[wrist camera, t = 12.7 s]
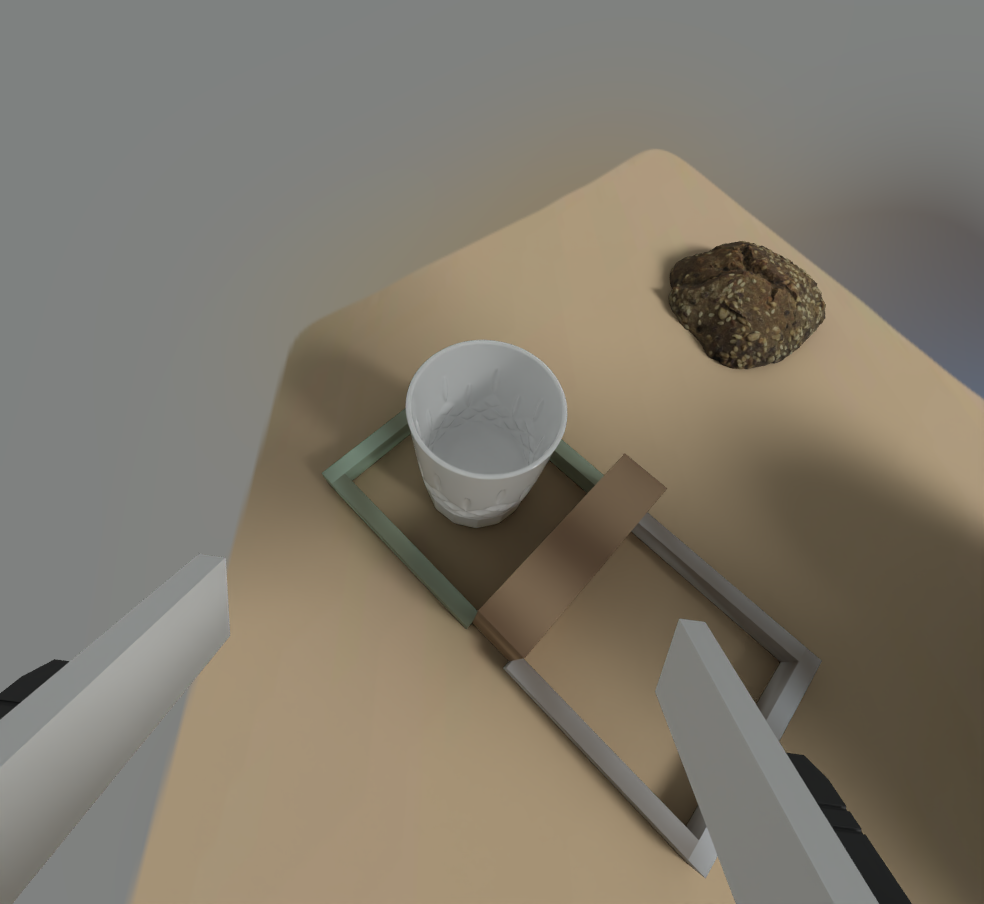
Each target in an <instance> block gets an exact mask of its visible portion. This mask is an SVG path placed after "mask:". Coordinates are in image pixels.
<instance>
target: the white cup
mask: <svg viewBox="0 0 984 904" xmlns="http://www.w3.org/2000/svg"><path fill="white" fill-rule="evenodd" d="M406 416H407V421H408V425H409V429H410V433H411V437H412V441H413V445H414V449H415V453H416V457H417V461H418V465H419V468H420V471H421V474H422V477H423V480H424V483H425V486H426V489H427V491H428V493H429V495H430V497H431V500H432V502H433V504H434V506H435V508H436V509H437V510H438V511H439V512H440V513H442V514H443V515H444V516H445V517H447V518H448V519H449V520H451V521H452V522H453V523H456V524H460V525H465V526H469V527H473V528H480V527H484V526H489V525H494V524H498V523H500V522H501V521H503V520H504V519H505V518H506V517H508V516H509V515H510V514H511V513H513V512H514V511H515V510H516V509H517V508H518V506H519V504H520V502H521V501H522V500H523V499H524V498H525V496H526V495H527V494H528V492H529V491H530V489H531V488H532V486H533V485H534V484H535V482H536V481H537V479H538V478H539V476H540V474H541V473H542V471H543V469H544V468H545V466H546V464H547V462H548V461H549V459H550V457H551V456H552V454H553V452H554V451H555V449H556V448H557V446H558V444H559V443H560V441H561V439H562V436H563V434H564V431H565V428H566V423H567V403H566V398H565V395H564V392H563V389H562V387H561V385H560V383H559V381H558V379H557V378H556V376H555V375H554V374H553V372H552V371H551V370H550V369H549V368H548V366H547V365H545V364H544V363H543V362H542V361H541V360H540V359H539V358H537V357H536V356H534V355H533V354H531V353H530V352H528V351H526V350H524V349H522V348H520V347H517V346H515V345H512V344H508V343H505V342H500V341H493V340H472V341H466V342H461V343H457V344H454V345H451V346H449V347H446V348H444V349H442V350H440V351H439V352H437V353H436V354H434V355H433V356H431V357H430V358H429V359H428V360H426V361H425V362H424V363H423V364H422V366H421V367H420V368H419V369H418V371H417V372H416V373H415V375H414V377H413V379H412V381H411V383H410V385H409V388H408V392H407V397H406Z"/></svg>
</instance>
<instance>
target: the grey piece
mask: <svg viewBox="0 0 984 904" xmlns="http://www.w3.org/2000/svg"><path fill="white" fill-rule="evenodd" d="M410 434H411V433H410V429H409V425H408V421H407V416H406V408H405V409H404V410H403V411H401V412H400V413H399V414H397V415H396V416H395V417H394V418H392V419H391V420H390V421H388V422H387V423H386V424H384V425H383V426H382V427H381V428H379V429H378V430H377V431H375V432H374V433H373V434H372V435H370V436H369V437H368V438H366V439H365V440H364V441H363V442H361V443H360V444H359V445H357V446H356V447H355V448H353V449H352V450H351V451H350V452H348V453H347V454H346V455H344V456H343V457H342V458H341V459H339V460H338V461H337V462H335V463H334V464H333V465H332V466H330V467H329V468H328V469H326V470H325V471H324V472H322V474H323V476H324V478H325V479H326V481H327V482H328V483H329V485H330V486H331V487H332V488H333V489H334V490H335V491H336V492H337V493H338V494H339V495H340V496H341V497H342V498H343V499H344V500H345V501H346V503H347V504H348V505H349V506H350V507H351V508H352V509H353V510H354V511H355V512H356V513H357V514H358V515H359V516H360V517H361V518H362V519H363V520H364V522H365V523H366V524H367V525H368V526H369V527H370V528H371V529H372V530H373V531H374V532H375V533H376V534H377V535H378V536H379V537H380V538H381V540H382V541H383V542H384V543H385V544H386V545H387V546H388V547H389V548H390V549H391V550H392V551H393V552H394V553H395V554H396V555H397V556H398V558H399V559H400V560H401V561H402V562H403V563H404V564H405V565H406V566H407V567H408V568H409V569H410V570H411V571H412V572H413V573H414V574H415V576H416V577H417V578H418V579H419V580H420V581H421V582H422V583H423V584H424V585H425V586H426V587H427V588H428V589H429V590H430V591H431V592H432V594H433V595H434V596H435V597H436V598H437V599H438V600H439V601H440V602H441V603H442V604H443V605H444V606H445V607H446V608H447V609H448V610H449V612H450V613H451V614H452V615H453V616H454V617H455V618H456V619H457V620H458V621H459V622H460V623H461V624H462V625H463V626H464V627H465V628H466V629H467V628H468V627H469V626H470V625H471V624H472V623H473V624H474V625H475V626H476V627H477V628H478V629H479V630H480V631H481V633H482V634H483V635H484V636H485V637H486V638H487V639H488V640H489V641H490V642H491V643H492V644H493V645H494V646H495V647H496V648H497V649H498V650H499V651H500V652H501V653H502V655H503V656H504V657H505V658H506V659H507V660H508V661H509V662H508V663H507V664H506V665H505V666H504V668H503V669H504V670H505V671H506V672H507V673H508V674H509V675H510V676H511V677H512V678H513V679H514V680H515V681H516V682H517V683H518V685H519V686H520V687H521V688H522V689H523V690H524V691H525V692H526V693H527V694H528V695H529V696H530V697H531V698H532V699H533V700H534V701H535V703H536V704H537V705H538V706H539V707H540V708H541V709H542V710H543V711H544V712H545V713H546V714H547V715H548V716H549V717H550V718H551V719H552V720H553V722H554V723H555V724H556V725H557V726H558V727H559V728H560V729H561V730H562V731H563V732H564V733H565V734H566V735H567V736H568V737H569V738H570V740H571V741H572V742H573V743H574V744H575V745H576V746H577V747H578V748H579V749H580V750H581V751H582V752H583V753H584V754H585V755H586V756H587V758H588V759H589V760H590V761H591V762H592V763H593V764H594V765H595V766H596V767H597V768H598V769H599V770H600V771H601V772H602V773H603V774H604V776H605V777H606V778H607V779H608V780H609V781H610V782H611V783H612V784H613V785H614V786H615V787H616V788H617V789H618V790H619V791H620V792H621V794H622V795H623V796H624V797H625V798H626V799H627V800H628V801H629V802H630V803H631V804H632V805H633V806H634V807H635V808H636V809H637V810H638V812H639V813H640V814H641V815H642V816H643V817H644V818H645V819H646V820H647V821H648V822H649V823H650V824H651V825H652V826H653V827H654V828H655V829H656V831H657V832H658V833H659V834H660V835H661V836H662V837H663V838H664V839H665V840H666V841H667V842H668V843H669V844H670V845H671V846H672V847H673V849H674V850H675V851H676V852H677V853H678V854H679V855H680V856H681V857H682V858H683V859H684V860H685V861H686V862H687V863H688V864H689V865H690V866H691V867H692V868H693V869H695V870H696V871H697V872H698V873H700V874H701V875H702V876H703V877H705V878H706V877H707V875H708V873H709V871H710V869H711V867H712V865H713V864H714V862H715V860H716V858H717V856H718V855H717V853H716V850H715V847H714V845H713V842H712V839H711V837H710V834H709V832H708V829H707V826H706V824H705V821H704V818H703V816H702V813H701V811H700V808H699V805H698V807H697V808H696V810H695V812H694V814H693V815H692V817H691V819H690V821H689V822H688V824H687V826H685V825H684V824H683V823H682V822H681V821H680V820H679V819H678V818H677V817H676V816H675V815H674V814H673V813H672V812H671V811H670V810H669V809H668V808H667V807H666V806H665V805H664V804H663V803H662V801H661V800H660V799H659V798H658V797H657V796H656V795H655V794H654V793H653V792H652V791H651V790H650V789H649V788H648V787H647V786H646V785H645V784H644V783H643V782H642V781H641V780H640V779H639V778H638V777H637V776H636V775H635V774H634V773H633V771H632V770H631V769H630V768H629V767H628V766H627V765H626V764H625V763H624V762H623V761H622V760H621V759H620V758H619V757H618V756H617V755H616V754H615V753H614V752H613V751H612V750H611V749H610V748H609V747H608V746H607V745H606V744H605V742H604V741H603V740H602V739H601V738H600V737H599V736H598V735H597V734H596V733H595V732H594V731H593V730H592V729H591V728H590V727H589V726H588V725H587V724H586V723H585V722H584V721H583V720H582V719H581V718H580V717H579V716H578V715H577V713H576V712H575V711H574V710H573V709H572V708H571V707H570V706H569V705H568V704H567V703H566V702H565V701H564V700H563V699H562V698H561V697H560V696H559V695H558V694H557V693H556V692H555V691H554V690H553V689H552V688H551V687H550V686H549V684H548V683H547V682H546V681H545V680H544V679H543V678H542V677H541V676H540V675H539V674H538V673H537V672H536V671H535V670H534V669H533V668H532V667H531V666H530V665H529V664H528V663H527V662H526V661H525V660H524V658H525V657H526V656H527V655H528V654H529V652H530V651H531V650H532V649H533V648H534V646H535V645H536V644H537V643H538V642H539V641H540V639H541V638H542V637H543V636H544V635H545V633H546V632H547V631H548V630H549V629H550V627H551V626H552V625H553V624H554V623H555V621H556V620H557V619H558V618H559V617H560V616H561V614H562V613H563V612H564V611H565V610H566V608H567V607H568V606H569V605H570V604H571V602H572V601H573V600H574V599H575V598H576V596H577V595H578V594H579V593H580V592H581V591H582V589H583V588H584V587H585V586H586V585H587V583H588V582H589V581H590V580H591V579H592V577H593V576H594V575H595V574H596V573H597V571H598V570H599V569H600V568H601V567H602V566H603V564H604V563H605V562H606V561H607V560H608V558H609V557H610V556H611V555H612V554H613V552H614V551H615V550H616V549H617V548H618V546H619V545H620V544H621V543H622V542H623V541H624V539H625V538H626V537H627V536H628V535H629V533H630V532H633V533H634V534H635V535H636V536H637V537H638V538H639V539H641V540H642V541H643V542H644V543H645V544H646V545H647V546H649V547H650V548H651V549H652V550H653V551H654V552H655V553H657V554H658V555H659V556H660V557H661V558H662V559H663V560H665V561H666V562H667V563H668V564H669V565H670V566H671V567H673V568H674V569H675V570H676V571H677V572H678V573H679V574H681V575H682V576H683V577H684V578H685V579H686V580H687V581H689V582H690V583H691V584H692V585H693V586H694V587H695V588H697V589H698V590H699V591H700V592H701V593H702V594H703V595H705V596H706V597H707V598H708V599H709V600H710V601H712V602H713V603H714V604H715V605H716V606H717V607H718V608H720V609H721V610H722V611H723V612H724V613H725V614H726V615H728V616H729V617H730V618H731V619H732V620H733V621H734V622H736V623H737V624H738V625H739V626H740V627H741V628H742V629H744V630H745V631H746V632H747V633H748V634H749V635H750V636H752V637H753V638H754V639H755V640H756V641H757V642H758V643H760V644H761V645H762V646H763V647H764V648H765V649H766V650H768V651H769V652H770V653H771V654H772V655H773V656H774V657H776V658H777V659H778V660H779V661H780V662H781V663H780V664H779V666H778V668H777V670H776V671H775V673H774V675H773V677H772V678H771V680H770V682H769V683H768V685H767V687H766V689H765V690H764V692H763V694H762V696H761V697H760V699H759V701H758V703H757V704H756V705H757V707H758V708H759V710H760V712H761V713H762V715H763V717H764V718H765V720H766V721H767V723H768V725H769V726H770V728H771V730H772V731H773V733H774V734H775V736H776V738H777V739H778V741H779V740H780V738H781V737H782V735H783V733H784V731H785V729H786V727H787V725H788V723H789V722H790V720H791V718H792V716H793V714H794V712H795V710H796V709H797V707H798V705H799V703H800V701H801V699H802V697H803V695H804V694H805V692H806V690H807V688H808V686H809V684H810V682H811V680H812V679H813V677H814V675H815V673H816V671H817V669H818V667H819V666H820V664H821V662H822V661H821V660H820V659H819V658H818V657H817V656H816V655H814V654H813V653H812V652H811V651H810V650H808V649H807V648H806V647H805V646H804V645H803V644H801V643H800V642H799V641H798V640H797V639H796V638H794V637H793V636H792V635H791V634H790V633H788V632H787V631H786V630H785V629H784V628H783V627H781V626H780V625H779V624H778V623H777V622H776V621H774V620H773V619H772V618H771V617H770V616H769V615H767V614H766V613H765V612H764V611H763V610H761V609H760V608H759V607H758V606H757V605H756V604H754V603H753V602H752V601H751V600H750V599H749V598H747V597H746V596H745V595H744V594H743V593H742V592H740V591H739V590H738V589H737V588H736V587H734V586H733V585H732V584H731V583H730V582H729V581H727V580H726V579H725V578H724V577H723V576H722V575H720V574H719V573H718V572H717V571H716V570H714V569H713V568H712V567H711V566H710V565H709V564H707V563H706V562H705V561H704V560H703V559H702V558H700V557H699V556H698V555H697V554H696V553H695V552H693V551H692V550H691V549H690V548H689V547H687V546H686V545H685V544H684V543H683V542H682V541H680V540H679V539H678V538H677V537H676V536H675V535H673V534H672V533H671V532H670V531H669V530H667V529H666V528H665V527H664V526H663V525H662V524H660V523H659V522H658V521H657V520H656V519H655V518H653V517H652V516H651V515H650V514H649V513H648V511H649V510H650V508H651V507H652V506H653V505H654V504H655V502H656V501H657V500H658V499H659V498H660V496H661V495H662V494H663V493H664V492H665V491H666V489H667V488H666V487H665V486H664V485H662V484H661V483H660V482H659V481H658V480H656V479H655V478H654V477H653V476H651V475H650V474H649V473H648V472H647V471H645V470H644V469H643V468H642V467H641V466H639V465H638V464H637V463H636V462H634V461H633V460H632V459H631V458H630V457H628V456H627V455H626V454H624V455H623V456H622V457H621V458H620V459H619V460H618V461H617V462H616V463H615V464H614V466H613V467H612V468H611V469H610V470H609V471H608V472H607V473H606V474H605V475H603V474H602V473H601V472H599V471H598V470H597V469H596V468H595V467H593V466H592V465H591V464H590V463H589V462H588V461H586V460H585V459H584V458H583V457H582V456H581V455H579V454H578V453H577V452H576V451H575V450H573V449H572V448H571V447H570V446H569V445H568V444H566V443H565V442H564V441H563V440H562V439H561V441H560V443H559V444H558V446H557V448H556V449H555V451H554V452H553V454H552V456H551V457H550V459H549V460H550V461H551V462H552V463H554V464H555V465H556V466H557V467H558V468H559V469H560V470H562V471H563V472H564V473H565V474H566V475H567V476H568V477H570V478H571V479H572V480H573V481H574V482H575V483H576V484H578V485H579V486H580V487H581V488H582V489H583V490H584V491H586V492H587V494H586V496H585V497H584V498H583V499H582V500H581V501H580V502H579V503H578V504H577V505H576V506H575V507H574V508H573V509H572V511H571V512H570V513H569V514H568V515H567V516H566V517H565V518H564V519H563V520H562V521H561V522H560V523H559V524H558V526H557V527H556V528H555V529H554V530H553V531H552V532H551V533H550V534H549V535H548V536H547V537H546V538H545V539H544V541H543V542H542V543H541V544H540V545H539V546H538V547H537V548H536V549H535V550H534V551H533V552H532V553H531V554H530V556H529V557H528V558H527V559H526V560H525V561H524V562H523V563H522V564H521V565H520V566H519V567H518V568H517V569H516V571H515V572H514V573H513V574H512V575H511V576H510V577H509V578H508V579H507V580H506V581H505V582H504V583H503V584H502V586H501V587H500V588H499V589H498V590H497V591H496V592H495V593H494V594H493V595H492V596H491V597H490V598H489V599H488V601H487V602H486V603H485V604H484V605H483V606H482V607H481V608H480V609H479V610H478V611H477V610H476V609H475V608H474V607H473V606H472V605H471V604H470V603H469V602H468V601H467V600H466V599H465V598H464V596H463V595H462V594H461V593H460V592H459V591H458V590H457V589H456V588H455V587H454V586H453V585H452V584H451V583H450V582H449V581H448V580H447V579H446V578H445V577H444V576H443V575H442V574H441V573H440V572H439V571H438V570H437V569H436V568H435V566H434V565H433V564H432V563H431V562H430V561H429V560H428V559H427V558H426V557H425V556H424V555H423V554H422V553H421V552H420V551H419V550H418V549H417V548H416V547H415V546H414V545H413V544H412V543H411V542H410V541H409V540H408V539H407V537H406V536H405V535H404V534H403V533H402V532H401V531H400V530H399V529H398V528H397V527H396V526H395V525H394V524H393V523H392V522H391V521H390V520H389V519H388V518H387V517H386V516H385V515H384V514H383V513H382V512H381V511H380V510H379V508H378V507H377V506H376V505H375V504H374V503H373V502H372V501H371V500H370V499H369V498H368V497H367V496H366V495H365V494H364V493H363V492H362V491H361V490H360V489H359V488H358V487H357V486H356V485H355V484H354V483H353V482H352V481H353V480H354V479H355V478H356V477H358V476H359V475H360V474H361V473H362V472H364V471H365V470H366V469H367V468H369V467H370V466H371V465H372V464H374V463H375V462H376V461H377V460H379V459H380V458H381V457H382V456H384V455H385V454H386V453H387V452H389V451H390V450H391V449H392V448H393V447H395V446H396V445H397V444H398V443H400V442H401V441H402V440H403V439H405V438H406V437H407V436H408V435H410Z"/></svg>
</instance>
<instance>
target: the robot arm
mask: <svg viewBox="0 0 984 904" xmlns="http://www.w3.org/2000/svg"><path fill="white" fill-rule="evenodd" d="M229 636H230V624H229V607H228V590H227V572H226V557H219V556H212V555H205V554H198V555H197V556H195V557H194V558H193V559H192V560H191V561H189V562H188V563H187V564H186V565H185V566H183V567H182V568H181V569H180V570H179V571H177V572H176V573H175V574H174V575H173V576H172V577H170V578H169V579H168V580H167V581H165V582H164V583H163V584H162V585H161V586H159V587H158V588H157V589H156V590H155V591H154V592H152V593H151V594H150V595H149V596H147V597H146V598H145V599H144V600H143V601H142V602H140V603H139V604H138V605H137V606H136V607H135V608H133V609H132V610H131V611H130V612H128V613H127V614H126V615H125V616H124V617H122V618H121V619H120V620H119V621H118V622H116V623H115V624H114V625H113V626H112V627H110V628H109V629H108V630H107V631H106V632H105V633H103V634H102V635H101V636H100V637H99V638H97V639H96V640H95V641H94V642H93V643H91V644H90V645H89V646H88V647H87V648H85V649H84V650H83V651H82V652H81V653H79V654H78V655H77V656H76V657H75V658H73V659H72V660H71V661H70V662H69V661H62V660H55V659H54V660H53V661H51V662H49V663H47V664H45V665H43V666H41V667H39V668H37V669H35V670H33V671H32V672H30V673H28V674H26V675H24V676H22V677H21V678H19V679H18V680H17V681H15V682H14V683H13V684H12V685H10V686H9V687H8V688H6V689H5V690H4V691H3V692H1V693H0V904H12V903H13V902H14V901H15V900H16V899H17V897H18V896H19V895H20V894H21V892H22V891H23V890H24V889H25V888H26V886H27V885H28V884H29V883H30V881H31V880H32V879H33V878H34V876H35V875H36V874H37V873H38V872H39V870H40V869H41V868H42V867H43V865H44V864H45V863H46V862H47V860H48V859H49V858H50V857H51V855H52V854H53V853H54V852H55V850H56V849H57V848H58V847H59V846H60V844H61V843H62V842H63V840H65V838H66V837H67V836H68V835H69V833H70V832H71V831H72V829H73V828H74V827H75V826H76V824H78V822H79V821H80V820H81V819H82V817H83V816H84V815H85V814H86V812H87V811H88V810H89V808H91V806H92V805H93V804H94V803H95V801H96V800H97V799H98V798H99V796H100V795H101V794H102V793H103V792H104V790H105V789H106V788H107V787H108V785H109V784H110V783H111V782H112V780H113V779H114V778H115V777H116V775H117V774H118V773H119V772H120V771H121V769H122V768H123V767H124V766H125V764H126V763H127V762H128V761H129V759H130V758H131V757H132V756H133V754H134V753H135V752H136V751H137V750H138V748H139V747H140V746H141V745H142V743H143V742H144V741H145V740H146V739H147V737H148V736H149V735H150V734H151V732H152V731H153V730H154V729H155V727H156V726H157V725H158V724H159V722H160V721H161V720H162V719H163V717H164V716H165V715H166V714H167V713H168V712H169V710H170V709H171V708H172V707H173V705H174V704H175V703H176V702H177V700H178V699H179V698H180V697H181V696H182V694H183V693H184V692H185V691H186V689H187V688H188V687H189V686H190V684H191V683H192V682H193V681H194V680H195V678H196V677H197V676H198V675H199V673H200V672H201V671H202V670H203V668H204V667H205V666H206V665H207V664H208V662H209V661H210V660H211V659H212V657H213V656H214V655H215V654H216V652H217V651H218V650H219V649H220V648H221V646H222V645H223V644H224V643H225V641H226V640H227V639H228V638H229ZM655 693H656V695H657V698H658V700H659V703H660V706H661V708H662V711H663V714H664V716H665V719H666V721H667V724H668V727H669V729H670V732H671V734H672V737H673V740H674V742H675V745H676V748H677V750H678V753H679V755H680V758H681V761H682V763H683V766H684V769H685V771H686V774H687V776H688V779H689V782H690V784H691V787H692V790H693V792H694V795H695V797H696V800H697V803H698V805H699V808H700V811H701V813H702V816H703V818H704V821H705V824H706V826H707V829H708V832H709V834H710V837H711V839H712V842H713V845H714V847H715V850H716V853H717V855H718V858H719V860H720V863H721V866H722V868H723V871H724V874H725V876H726V879H727V881H728V884H729V887H730V889H731V892H732V895H733V897H734V900H735V902H736V904H912V903H911V902H910V900H909V899H908V898H907V896H906V895H905V893H904V892H903V890H902V889H901V887H900V886H899V884H898V883H897V881H896V880H895V878H894V877H893V875H892V874H891V872H890V871H889V869H888V868H887V866H886V865H885V863H884V862H883V860H882V859H881V857H880V856H879V854H878V853H877V851H876V850H875V848H874V847H873V845H872V844H871V842H870V841H869V839H868V838H867V836H866V835H864V834H862V832H861V827H860V826H859V824H858V823H857V821H856V820H855V819H854V817H853V816H852V814H851V813H850V811H847V810H846V805H845V804H844V802H843V801H842V799H841V798H840V796H839V795H838V793H837V792H836V790H835V789H834V787H833V786H832V784H831V783H830V781H829V780H828V779H827V778H826V777H825V776H824V775H823V774H822V773H821V772H820V771H819V770H818V769H817V768H816V767H815V766H814V765H813V764H812V763H811V762H810V761H809V760H808V759H807V758H806V757H805V756H804V755H799V754H791V753H786V752H785V751H784V749H783V747H782V746H781V744H780V742H779V741H778V739H777V738H776V736H775V734H774V733H773V731H772V730H771V728H770V726H769V725H768V723H767V721H766V720H765V718H764V717H763V715H762V713H761V712H760V710H759V708H758V707H757V705H756V704H755V702H754V700H753V699H752V697H751V695H750V694H749V692H748V691H747V689H746V687H745V686H744V684H743V683H742V681H741V679H740V678H739V676H738V674H737V673H736V671H735V670H734V668H733V666H732V665H731V663H730V661H729V660H728V658H727V657H726V655H725V653H724V652H723V650H722V648H721V647H720V645H719V644H718V642H717V640H716V639H715V637H714V636H713V634H712V632H711V631H710V629H709V627H708V626H707V624H706V623H705V622H702V621H694V620H687V619H679V621H678V624H677V627H676V630H675V633H674V636H673V639H672V642H671V645H670V648H669V651H668V654H667V657H666V660H665V663H664V666H663V669H662V672H661V675H660V678H659V681H658V684H657V687H656V690H655Z"/></svg>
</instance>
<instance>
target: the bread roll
mask: <svg viewBox="0 0 984 904" xmlns="http://www.w3.org/2000/svg"><path fill="white" fill-rule="evenodd" d="M670 284H671V287H672V289H673V290H672V291H671V293H670V296H669V301H670V305H671V308H672V310H673V312H674V313H675V314H676V315H677V317H678V319H679V322H680V323H681V324H682V325H683V326H684V327H685V329H686V330H689V331H690V332H691V333H692V334H693V335H694V336H696V338H697V339H698V340H699V341H700V342H701V343H702V345H703V348H704V350H705V352H706V353H707V355H708V356H709V357H710V358H713V359H715V360H718V361H719V362H720V363H722V364H723V365H725V366H728V367H730V368H736V369H743V368H744V369H749V368H754V367H759V366H765V365H767V364H770V363H778V362H780V361H782V360H783V359H784V358H785V357H787V356H788V355H790V354H792V352H794V351H795V350H797V349H798V348H800V346H801V345H802V344H803V343H804V342H805V341H806V339H808V338H809V337H810V336H811V335H812V334H813V332H815V331H816V330H817V328H818V326H819V325H820V324H822V322H823V320H824V319H825V307H826V304H825V302H824V301H823V299H822V297H821V296H822V295H821V294H822V292H821V291H820V290H819V289H818V287H817V283H815V281H814V280H813V279H811V276H810V275H808V274H806V271H805V270H803V269H801V268H799V267H798V266H797V265H794V264H793V262H791V260H788V259H785V258H784V257H783V256H781V255H779V254H776V253H774V252H772V251H771V250H768V249H767V248H765V247H764V246H758V245H756V244H754V243H750V242H745V241H739V242H734V243H729V244H726V243H725V244H722V245H720V246H716V247H715V248H714V249H712V250H710V251H709V252H705V253H703V254H702V253H701V254H696V255H694V256H692V257H686V258H684V259H682V260H681V261H678V262H677V263H676V264H675V267H674V268H673V269H672V271H671V274H670Z"/></svg>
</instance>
